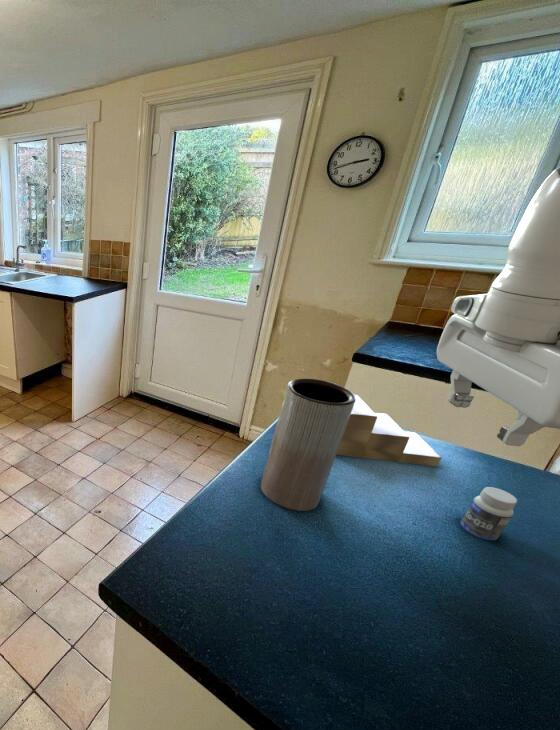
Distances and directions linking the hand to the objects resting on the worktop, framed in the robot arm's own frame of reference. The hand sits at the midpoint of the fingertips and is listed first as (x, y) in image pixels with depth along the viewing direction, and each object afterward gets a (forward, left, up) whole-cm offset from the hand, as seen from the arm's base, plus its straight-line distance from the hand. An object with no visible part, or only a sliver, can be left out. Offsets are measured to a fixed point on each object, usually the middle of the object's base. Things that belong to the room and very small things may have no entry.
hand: (481, 422), depth 53 cm
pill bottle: (-16, -12, -27) cm, 33 cm away
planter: (+13, -15, -27) cm, 33 cm away
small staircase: (-9, -36, -27) cm, 46 cm away
